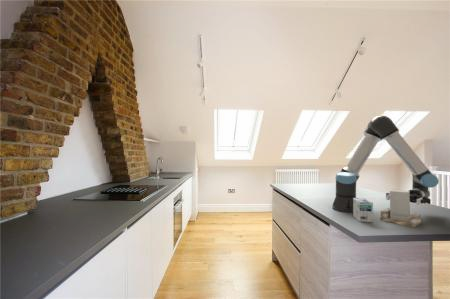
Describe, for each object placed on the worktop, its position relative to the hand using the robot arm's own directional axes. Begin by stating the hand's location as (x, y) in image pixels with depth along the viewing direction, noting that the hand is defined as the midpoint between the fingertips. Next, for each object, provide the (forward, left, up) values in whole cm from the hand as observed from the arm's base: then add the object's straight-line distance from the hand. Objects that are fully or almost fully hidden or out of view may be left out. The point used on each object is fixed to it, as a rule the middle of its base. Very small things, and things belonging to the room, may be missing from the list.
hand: (401, 199), depth 125 cm
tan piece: (0, -1, -12) cm, 12 cm away
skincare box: (-1, -1, -11) cm, 11 cm away
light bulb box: (-14, -14, -12) cm, 23 cm away
